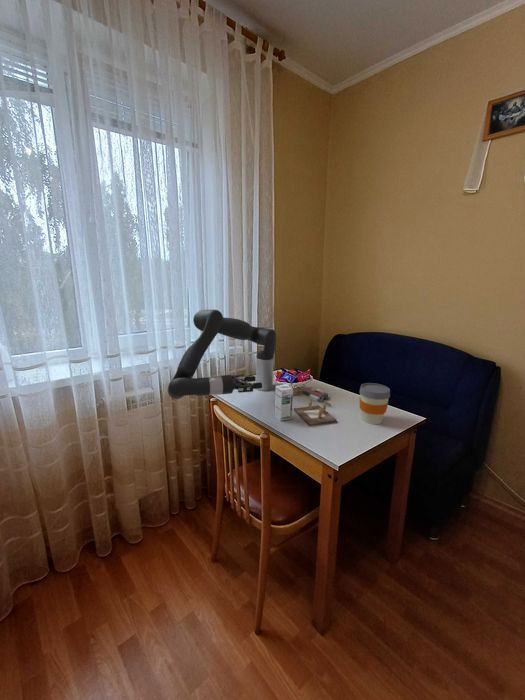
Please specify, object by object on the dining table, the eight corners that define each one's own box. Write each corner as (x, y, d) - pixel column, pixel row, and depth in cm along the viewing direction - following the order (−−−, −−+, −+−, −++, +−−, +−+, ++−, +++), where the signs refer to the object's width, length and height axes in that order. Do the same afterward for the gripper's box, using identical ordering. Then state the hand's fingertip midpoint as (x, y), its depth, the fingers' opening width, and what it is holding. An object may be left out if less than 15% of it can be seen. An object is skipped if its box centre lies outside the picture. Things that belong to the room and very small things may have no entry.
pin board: (293, 410, 147) (294, 399, 146) (318, 407, 152) (319, 396, 150) (309, 426, 133) (310, 414, 131) (336, 422, 137) (337, 410, 136)
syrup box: (280, 421, 137) (281, 389, 133) (274, 415, 142) (275, 385, 138) (291, 419, 139) (293, 388, 135) (285, 413, 144) (287, 383, 140)
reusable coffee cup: (350, 416, 143) (353, 385, 139) (369, 411, 149) (373, 381, 145) (372, 428, 132) (377, 395, 129) (392, 422, 139) (397, 390, 135)
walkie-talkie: (299, 395, 167) (329, 408, 152) (299, 387, 166) (329, 399, 151) (310, 391, 172) (340, 403, 157) (311, 383, 171) (341, 395, 156)
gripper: (224, 382, 119) (264, 378, 125) (216, 370, 132) (253, 368, 138) (223, 400, 121) (263, 396, 126) (216, 387, 134) (253, 384, 139)
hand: (258, 381), depth 132 cm, fingers open, 8 cm apart
